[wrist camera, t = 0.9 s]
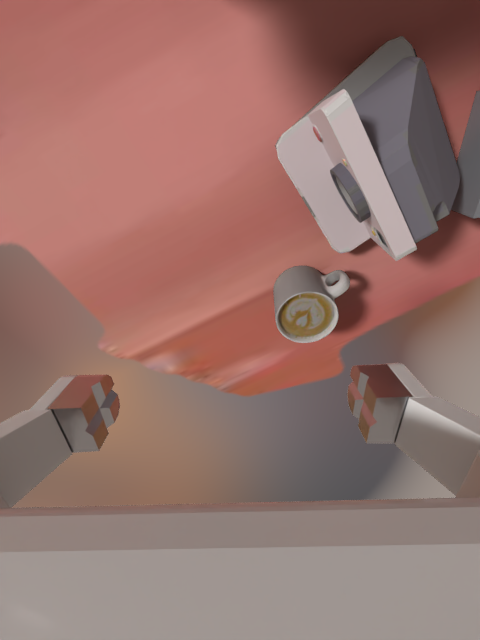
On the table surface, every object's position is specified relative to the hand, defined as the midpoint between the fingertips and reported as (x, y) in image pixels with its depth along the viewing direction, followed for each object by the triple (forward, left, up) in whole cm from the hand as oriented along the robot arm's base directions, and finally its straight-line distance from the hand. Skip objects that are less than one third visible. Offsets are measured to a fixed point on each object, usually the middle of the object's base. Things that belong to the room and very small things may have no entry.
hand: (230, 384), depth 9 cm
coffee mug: (+17, +8, -41) cm, 45 cm away
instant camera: (-2, +15, -41) cm, 44 cm away
